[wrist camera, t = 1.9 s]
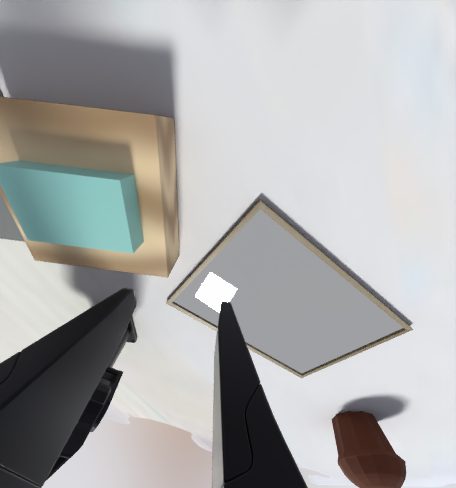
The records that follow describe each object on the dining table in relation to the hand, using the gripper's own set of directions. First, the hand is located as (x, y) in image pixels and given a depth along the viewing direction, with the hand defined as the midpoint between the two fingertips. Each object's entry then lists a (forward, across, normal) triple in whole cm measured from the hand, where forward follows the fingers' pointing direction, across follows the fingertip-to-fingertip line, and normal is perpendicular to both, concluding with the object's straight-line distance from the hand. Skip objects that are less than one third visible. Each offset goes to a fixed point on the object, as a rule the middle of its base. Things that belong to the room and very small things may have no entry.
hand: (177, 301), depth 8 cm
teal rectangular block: (+9, +10, 0) cm, 14 cm away
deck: (+13, +11, 0) cm, 17 cm away
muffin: (+13, -34, +46) cm, 58 cm away
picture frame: (+14, -11, +14) cm, 23 cm away
